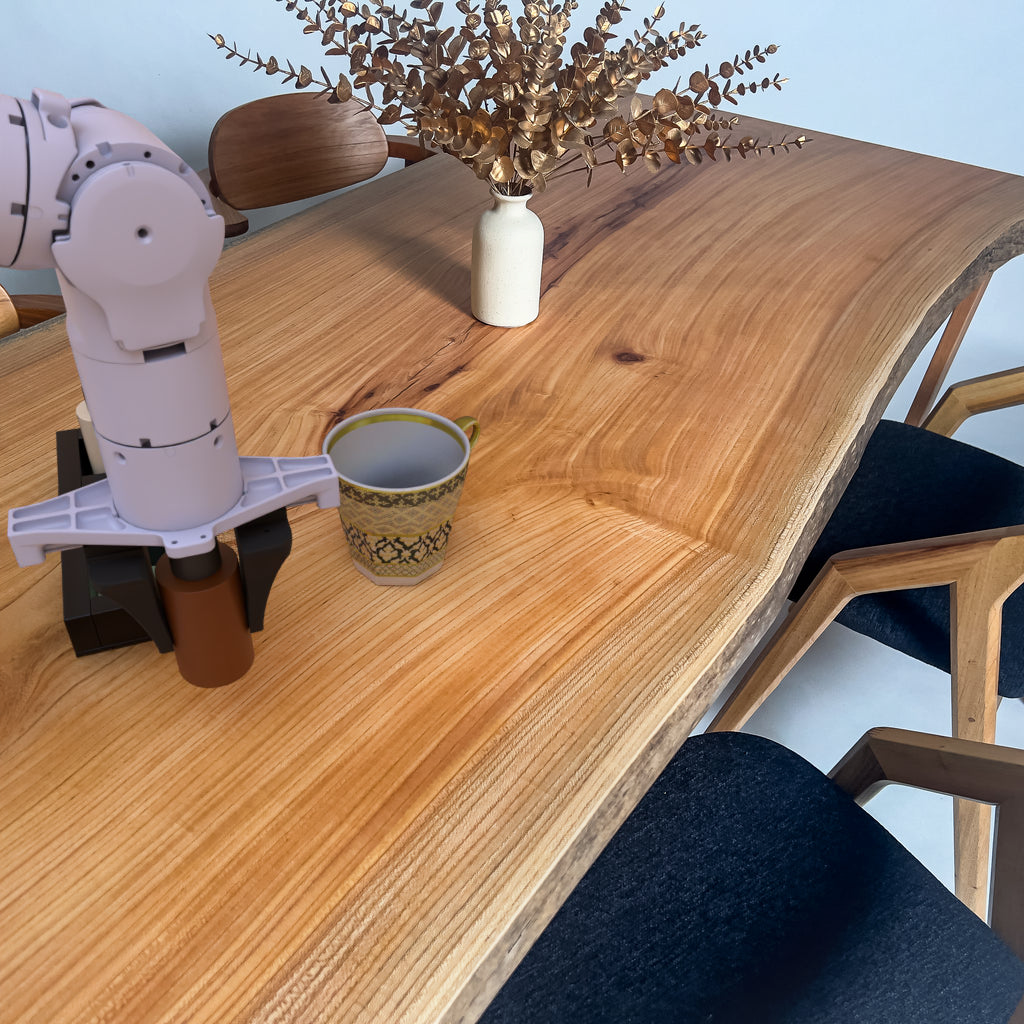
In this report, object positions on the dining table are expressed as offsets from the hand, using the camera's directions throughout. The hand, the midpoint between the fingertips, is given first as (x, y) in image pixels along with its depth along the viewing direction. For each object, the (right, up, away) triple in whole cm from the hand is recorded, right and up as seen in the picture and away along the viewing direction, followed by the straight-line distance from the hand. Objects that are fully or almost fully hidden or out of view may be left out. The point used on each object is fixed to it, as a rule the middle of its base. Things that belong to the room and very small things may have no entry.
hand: (209, 629), depth 48 cm
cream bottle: (-15, +9, +24) cm, 29 cm away
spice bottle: (0, -2, +2) cm, 2 cm away
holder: (-12, +4, +19) cm, 23 cm away
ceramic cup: (+9, +3, +20) cm, 22 cm away
